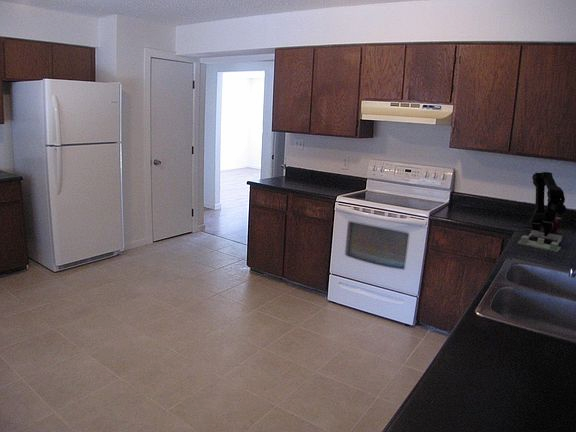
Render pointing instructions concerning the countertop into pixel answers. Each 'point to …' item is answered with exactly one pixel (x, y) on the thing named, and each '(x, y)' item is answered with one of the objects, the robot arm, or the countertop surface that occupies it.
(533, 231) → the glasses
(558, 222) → the mug
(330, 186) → the countertop surface
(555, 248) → the stand
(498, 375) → the countertop surface
